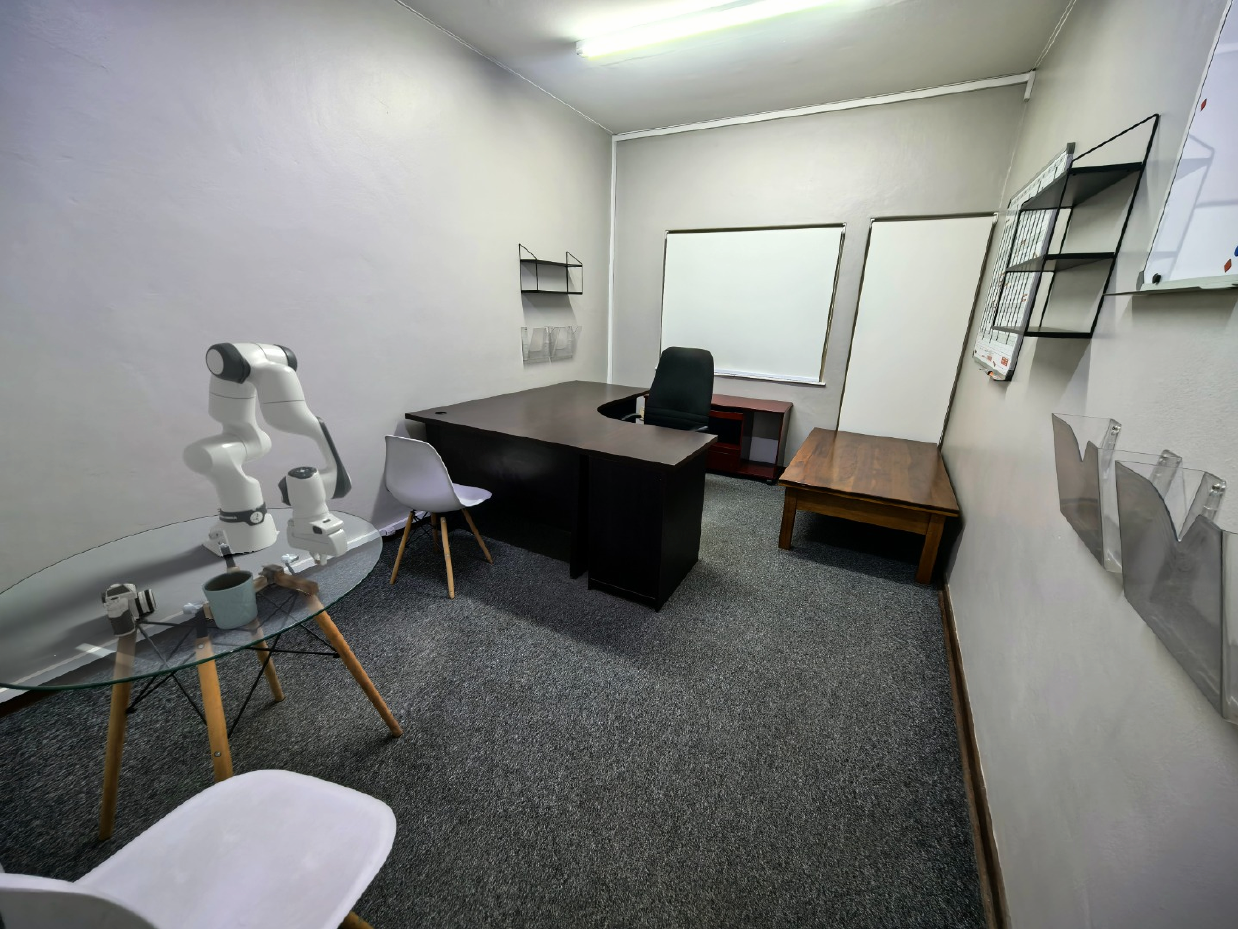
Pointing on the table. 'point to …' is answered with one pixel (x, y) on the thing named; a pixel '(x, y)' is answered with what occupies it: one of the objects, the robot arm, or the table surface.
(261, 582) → the base
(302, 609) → the table surface
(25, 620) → the table surface
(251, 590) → the green ceramic pot
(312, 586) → the tongs jaw
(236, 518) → the robot arm
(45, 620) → the table surface
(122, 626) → the camera
